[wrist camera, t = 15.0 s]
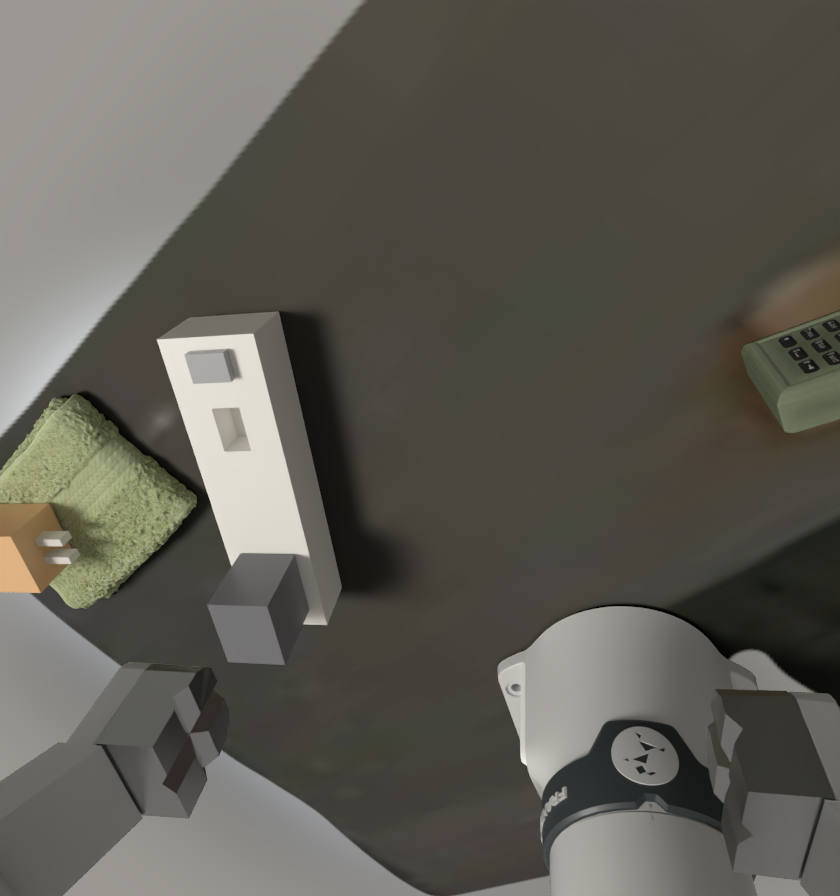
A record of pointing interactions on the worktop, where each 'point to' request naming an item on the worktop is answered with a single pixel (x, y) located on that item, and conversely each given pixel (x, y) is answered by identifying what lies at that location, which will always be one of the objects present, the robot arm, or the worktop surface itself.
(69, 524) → the washcloth
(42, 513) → the orange charger
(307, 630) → the worktop surface
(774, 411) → the handheld radio
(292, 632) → the block
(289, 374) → the power strip
